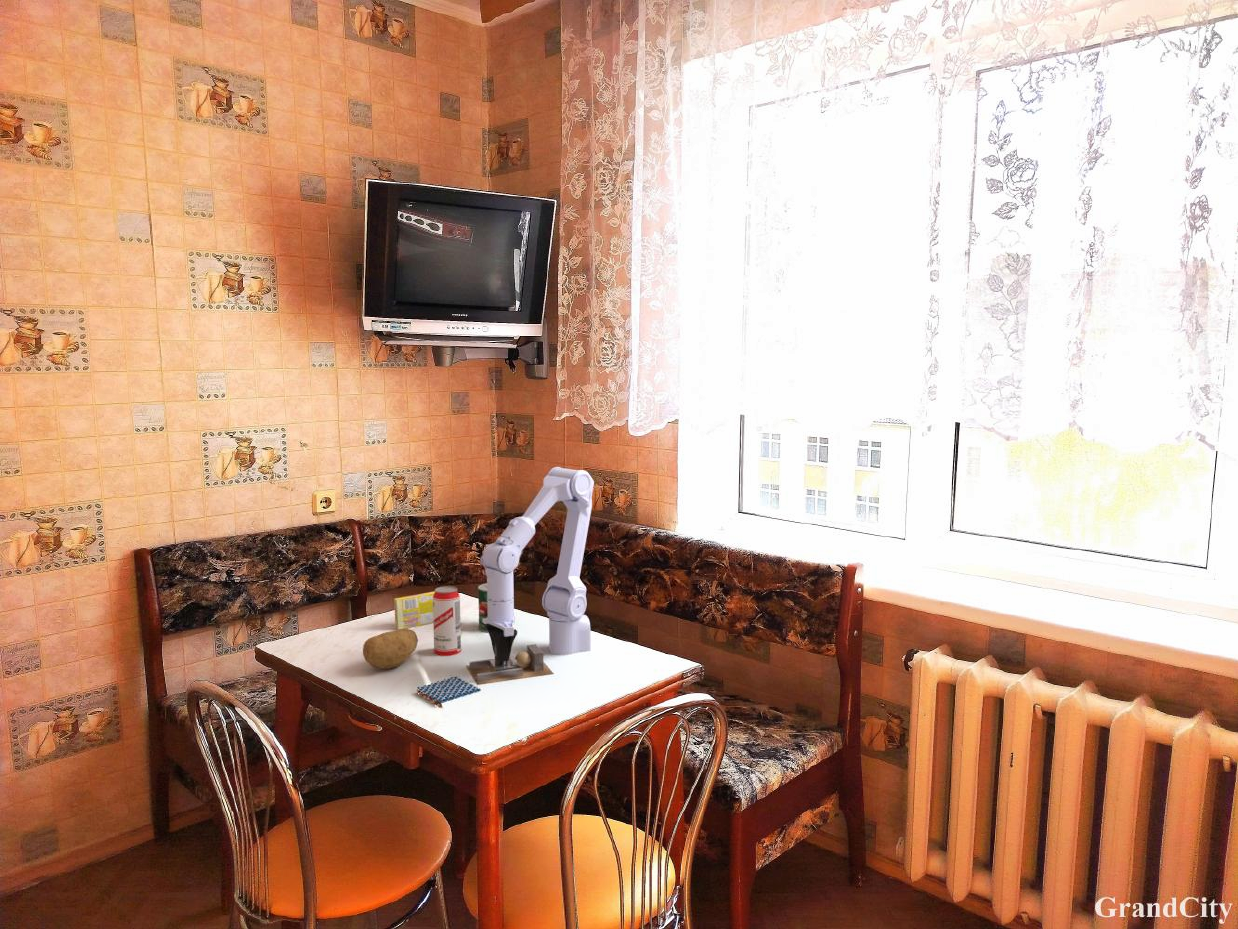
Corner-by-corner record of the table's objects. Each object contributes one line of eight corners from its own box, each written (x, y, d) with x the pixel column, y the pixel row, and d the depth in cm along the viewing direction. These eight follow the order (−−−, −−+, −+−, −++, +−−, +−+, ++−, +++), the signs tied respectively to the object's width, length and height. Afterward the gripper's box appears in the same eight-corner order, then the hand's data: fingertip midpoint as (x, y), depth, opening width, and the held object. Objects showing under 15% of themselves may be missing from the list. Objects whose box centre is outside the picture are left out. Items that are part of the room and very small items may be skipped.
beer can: (455, 660, 198) (453, 593, 196) (429, 658, 199) (427, 592, 197) (465, 651, 204) (463, 586, 202) (440, 649, 205) (438, 585, 203)
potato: (430, 660, 198) (429, 627, 197) (382, 679, 186) (381, 644, 185) (401, 652, 203) (400, 620, 202) (353, 670, 192) (351, 636, 190)
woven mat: (456, 683, 186) (456, 674, 185) (483, 697, 178) (483, 688, 178) (413, 695, 179) (413, 686, 178) (439, 711, 171) (439, 701, 171)
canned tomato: (515, 627, 222) (515, 586, 220) (492, 634, 216) (491, 592, 215) (495, 621, 227) (495, 580, 226) (472, 628, 221) (471, 586, 220)
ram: (511, 663, 192) (510, 638, 192) (518, 672, 187) (517, 647, 186) (489, 666, 191) (488, 641, 190) (495, 675, 185) (495, 650, 184)
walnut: (526, 665, 193) (529, 650, 192) (531, 671, 189) (534, 655, 189) (511, 664, 191) (514, 649, 191) (515, 670, 188) (518, 654, 188)
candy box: (452, 617, 230) (451, 587, 229) (455, 619, 229) (455, 589, 228) (394, 628, 221) (393, 597, 220) (397, 631, 219) (396, 599, 218)
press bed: (538, 660, 198) (538, 639, 197) (554, 678, 187) (553, 656, 186) (465, 670, 192) (465, 648, 191) (477, 689, 181) (476, 666, 180)
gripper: (475, 591, 192) (476, 649, 194) (490, 609, 178) (491, 671, 180) (505, 588, 194) (506, 646, 196) (522, 605, 181) (523, 667, 183)
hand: (501, 658), depth 188 cm, fingers open, 3 cm apart
